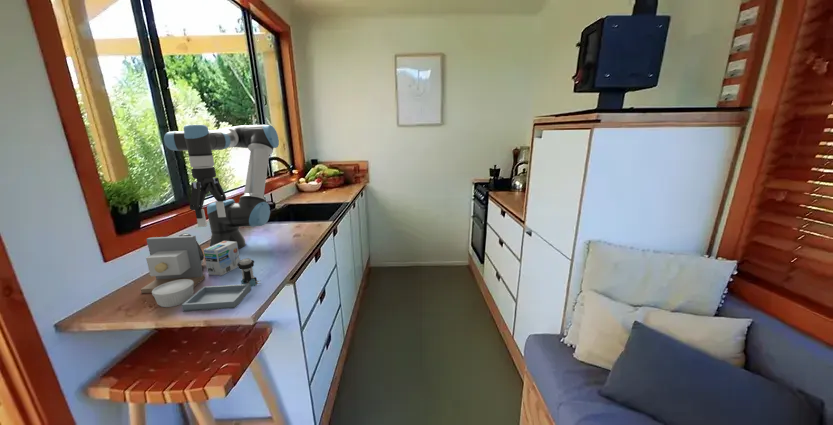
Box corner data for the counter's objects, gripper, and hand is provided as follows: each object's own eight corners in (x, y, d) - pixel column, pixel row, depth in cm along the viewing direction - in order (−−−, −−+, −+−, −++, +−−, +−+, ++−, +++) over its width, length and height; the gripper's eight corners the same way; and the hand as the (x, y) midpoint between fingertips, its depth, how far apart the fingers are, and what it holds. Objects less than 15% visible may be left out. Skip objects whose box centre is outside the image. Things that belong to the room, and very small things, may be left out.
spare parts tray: (205, 292, 109) (203, 286, 108) (251, 290, 110) (250, 283, 110) (183, 311, 97) (181, 304, 97) (235, 308, 99) (233, 301, 98)
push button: (263, 281, 117) (259, 256, 114) (258, 288, 111) (254, 262, 109) (244, 282, 116) (240, 257, 113) (238, 289, 111) (234, 263, 108)
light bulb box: (221, 276, 122) (216, 250, 119) (207, 274, 123) (202, 249, 121) (241, 265, 132) (237, 241, 129) (228, 264, 133) (223, 240, 131)
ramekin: (170, 293, 110) (167, 279, 108) (203, 291, 110) (200, 277, 109) (146, 310, 99) (142, 295, 97) (182, 308, 99) (179, 293, 98)
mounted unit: (161, 280, 119) (151, 237, 115) (205, 277, 121) (196, 235, 116) (140, 293, 109) (128, 246, 105) (188, 290, 111) (178, 244, 106)
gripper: (211, 164, 129) (220, 213, 134) (169, 171, 105) (182, 231, 110) (230, 164, 129) (238, 213, 134) (192, 170, 105) (204, 230, 110)
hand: (213, 221), depth 122 cm, fingers open, 13 cm apart
